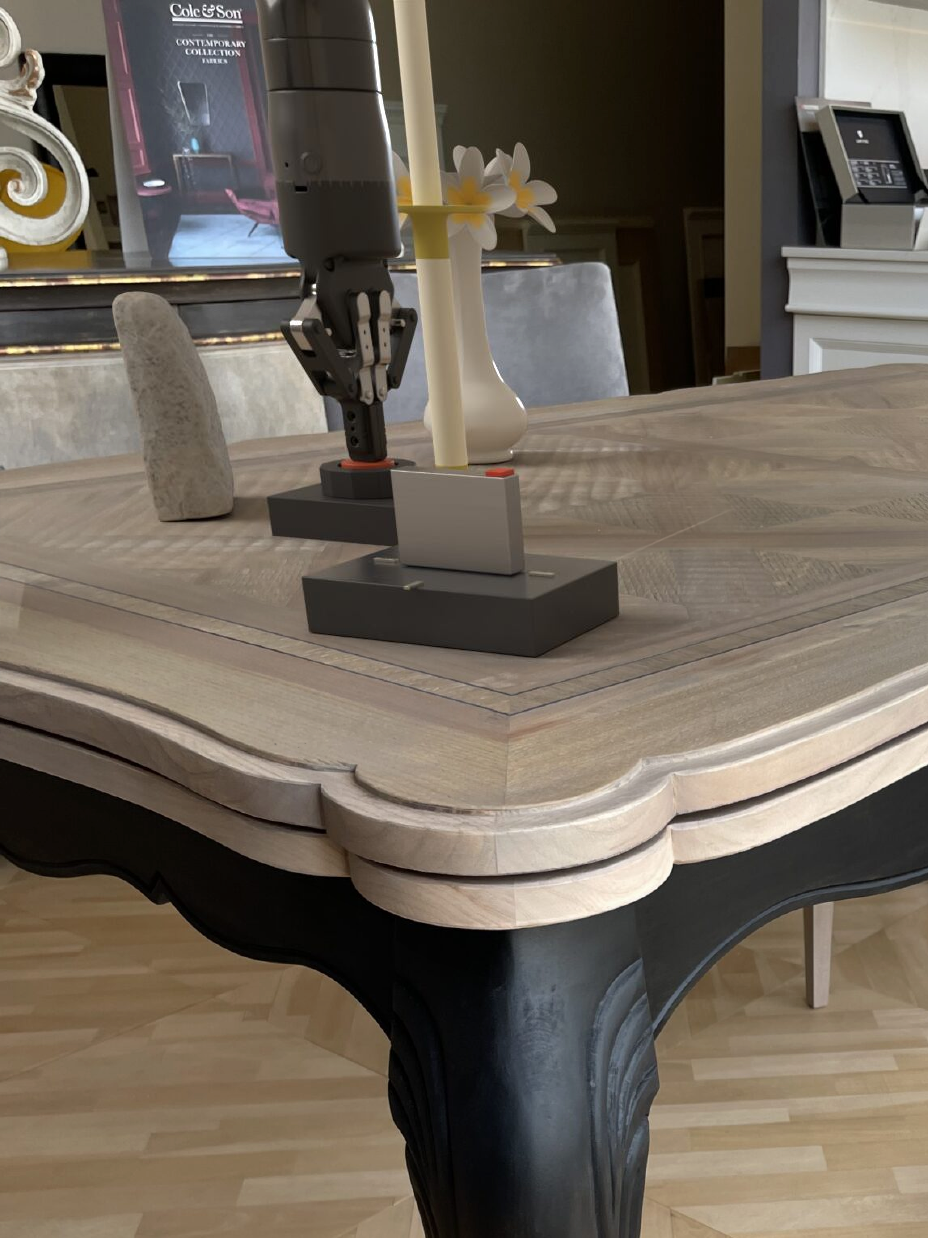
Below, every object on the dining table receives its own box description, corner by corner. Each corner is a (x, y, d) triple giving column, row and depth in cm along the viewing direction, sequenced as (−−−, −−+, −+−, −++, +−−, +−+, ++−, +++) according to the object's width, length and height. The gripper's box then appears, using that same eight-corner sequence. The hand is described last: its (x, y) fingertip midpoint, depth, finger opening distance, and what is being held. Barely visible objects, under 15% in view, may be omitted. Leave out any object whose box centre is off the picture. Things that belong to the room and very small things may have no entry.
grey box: (400, 565, 84) (389, 464, 81) (416, 559, 85) (405, 460, 83) (511, 575, 82) (503, 473, 79) (526, 569, 83) (518, 468, 80)
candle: (395, 488, 124) (334, -74, 106) (519, 486, 125) (479, -70, 107) (384, 510, 115) (315, -99, 97) (517, 508, 117) (473, -94, 99)
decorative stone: (170, 498, 119) (133, 286, 112) (249, 497, 120) (217, 286, 113) (143, 524, 110) (101, 294, 103) (229, 522, 111) (193, 294, 104)
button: (333, 489, 106) (330, 463, 105) (363, 481, 109) (360, 455, 108) (377, 492, 105) (374, 466, 104) (406, 485, 108) (404, 458, 107)
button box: (272, 536, 106) (261, 468, 104) (347, 515, 114) (339, 451, 111) (407, 548, 103) (399, 478, 101) (475, 525, 110) (470, 460, 108)
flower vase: (359, 455, 140) (321, 141, 128) (554, 446, 146) (535, 145, 134) (380, 476, 130) (341, 136, 118) (590, 465, 136) (573, 141, 124)
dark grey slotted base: (301, 634, 82) (293, 575, 81) (414, 591, 92) (408, 537, 90) (530, 660, 78) (525, 598, 77) (624, 612, 87) (622, 556, 86)
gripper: (345, 177, 104) (376, 445, 113) (219, 174, 93) (264, 471, 102) (440, 177, 102) (464, 451, 110) (322, 174, 91) (359, 478, 99)
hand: (368, 460), depth 106 cm, fingers closed
